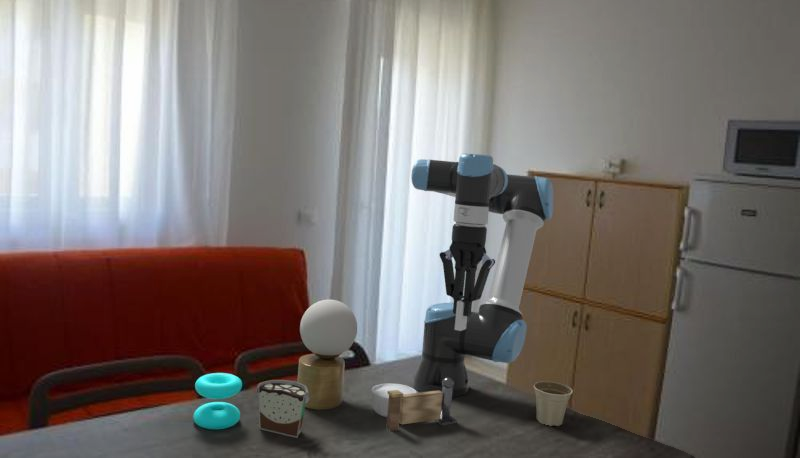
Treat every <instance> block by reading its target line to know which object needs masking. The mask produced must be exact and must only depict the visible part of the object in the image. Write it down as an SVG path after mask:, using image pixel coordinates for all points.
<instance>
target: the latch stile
mask: <svg viewBox="0 0 800 458" xmlns="http://www.w3.org/2000/svg"><path fill="white" fill-rule="evenodd" d="M387 393H388V394H389V402H388V414H387V417H386V425H385V426H386V427H385V428H386V429H388V430H389V431H390V432H392V431H393V432H394V431H398V430H399V425H400V423H399V416H400V404H401V396H403V393H402V392H400V391H399V390H390V391H388V392H387Z"/></svg>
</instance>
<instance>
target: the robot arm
mask: <svg viewBox="0 0 800 458" xmlns="http://www.w3.org/2000/svg"><path fill="white" fill-rule="evenodd" d="M411 184H412V186H413V188H415V189H416V190H418V191H419V190H420V191H425V192H433V193H437V194H438V193H439V194H442V195H446V196H450V197H454V199H455V200H454V209H453V222H454V223H453V225H452V230H451V244H450V245H449V249H447V250H445V251H441V252H439V254H438V255H439V257H440V260H441V263H442V267H443V268H442V269H443V277H444V283H445V292H446V296H448V297H451V298H452V300H453V302H440V303H434V304H431V305H430V306H428V307H427V308H426V310H425V311H426V312H425V318H424V321H423V322H424V323H423V325H424V326H423V338H422V348H421V350H422V351H421V352H422V353H421V358H420V361H419V364H418V365H417V369H416V370H415V373H414V375H413V379H412V381H413V382H412V385H413V387H414V388H413V389H415V390H416V391H419V392H430V391H439V390H440V391H441V392H442V387H443V386H442V381H443V379H444V378H447V377H449V378H451V379H452V380H453V381H454V386H453V389H452V398H453V397H460V396H463V395H466V394H467V393H468V391H469V385H470V382H469V377H468V372H467V368H466V364H465V358H466V356H468V357H473V358H478V359H482V360H487V361H492V362H494V363H503V364H511V363H513V362H514V361H516V360H517V358H519V356H520V354H521V352H522V349H523V347H524V344H525V340H526V336H527V335H526V334H527V330H528V325H527V323H526V321H525V320H523V316H524V315H523V313H522V312H521V310H520V304H521V298H522V296H523V295H522V294H523V290H524V286H525V283H526V278H527V273H528V269H529V265H530V261H531V257H532V252H533V247H534V243H535V239H536V235H537V231H538V230H540V229H542V228H543V227H544V224H545V220H546V221H548V220H551V219H552V217H553V215H554V206H555V205H554V204H555V203H554V201H555V199H554V188H553V184H552V181H551V179H549V178H547V177H540V176H537V175H534V176H532V175H531V176H530V175H529V176H528V175H520V174H519V175H518V174H508V173H506V171H505V170H504V169H503V168H502V167H501V166H499V165H497V164H494V158H493V156H491V155H488V154H479V153H462V154H460V155H459V157H458V161H448V160H437V159H430V158H428V159H423V158H422V159H421V158H420V159H418V160H416V161H415V162H414V164H413V165H412V169H411ZM489 213H493V214H499V215H502V219H503V221H504V222H505V228H504V231H503V235H502V240H501V244H500V248H499V252H498V255H497V259H496V260H495V259H494V258H491V257H489V255H487V250H486V242H487V233H488V232H487V231H488V228H487V227H486V226H485V225H487V224H488V222H489ZM453 260H454V262H455V263H454V262H453ZM480 262H481V267H480V268H479V272H478V274H477V275H476V273H477V270H478V266H479V264H480ZM494 265H495V266H494ZM493 267H495V268H494V272H493V276H492V280H491V283H490V287H489V291H488V297H487V300H486V301H484V302H482V303H481V304H480V305H479V308H478V312H477V311H472V307H473V306H472V305H473V302H474V301H479V300H480V299H481V298H482V296H483V292H484V289H485V286H486V283H487V280H488V277H489V274H490V271H491V269H492V268H493ZM454 270H455V271H454ZM476 276H477V279H476Z"/></svg>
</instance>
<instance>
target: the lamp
mask: <svg viewBox="0 0 800 458" xmlns="http://www.w3.org/2000/svg"><path fill="white" fill-rule="evenodd" d="M299 333H300V338H301V340H302V343H303V344H304V346H305V347H306V348H307V349H308V350H309V351H310V352H312V353H309V354H305V355H302V356H300V357H299V359H298V367H297V368H298V369H297V382H298V383H301V384H303V385H305V386H306V387H307V390H308V393H309V401H308V402H307V403H305V408H306V409H312V410H331V409H335V408H339V407H340V406H341V405H342V402H343V392H344V391H343V390H344V380H345V379H344V378H345V367H346V366H345V362H346V361H345V360H344V358H343V357H341V355H343V354H344V353H346V352H347V351H348V350H349V349H350V348H351V347H352V345H354V344H353V343H354V342H355V340H356V338H357V334H358V322H357V318H356V316H355V313H354V312H353V311H352V309H351V308H350V307H349V306H348V305H347V304H346V303H344V302H342V301H339V300H337V299H323V300H319V301H316V302H314V303H313V304H312V305H311V306H309V307H308V308H307V309H306V311H304V313H303V315H302V317H301V320H300V325H299Z"/></svg>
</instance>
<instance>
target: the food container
mask: <svg viewBox="0 0 800 458" xmlns="http://www.w3.org/2000/svg"><path fill="white" fill-rule="evenodd" d="M255 393H258V394H257V399H258V400H257V401H258V424H259V426H258V427H259V428H258V429H259V430H262V431H266V432H269V433H270V432H271V433H275V434H279V435H283V436H287V437H291V438H296V439H299V437H300V436H301V432H302V427H303V421H304V414H305V408H306V407H305V403H307V402H308V401H309V393H308V390H307V387H306V386H305V385H303V384H301V383H298V381H294V380H286V379H272V380H271V379H270V380H266V381H262V382H259V383H258V384H257V386H256V389H255Z"/></svg>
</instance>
